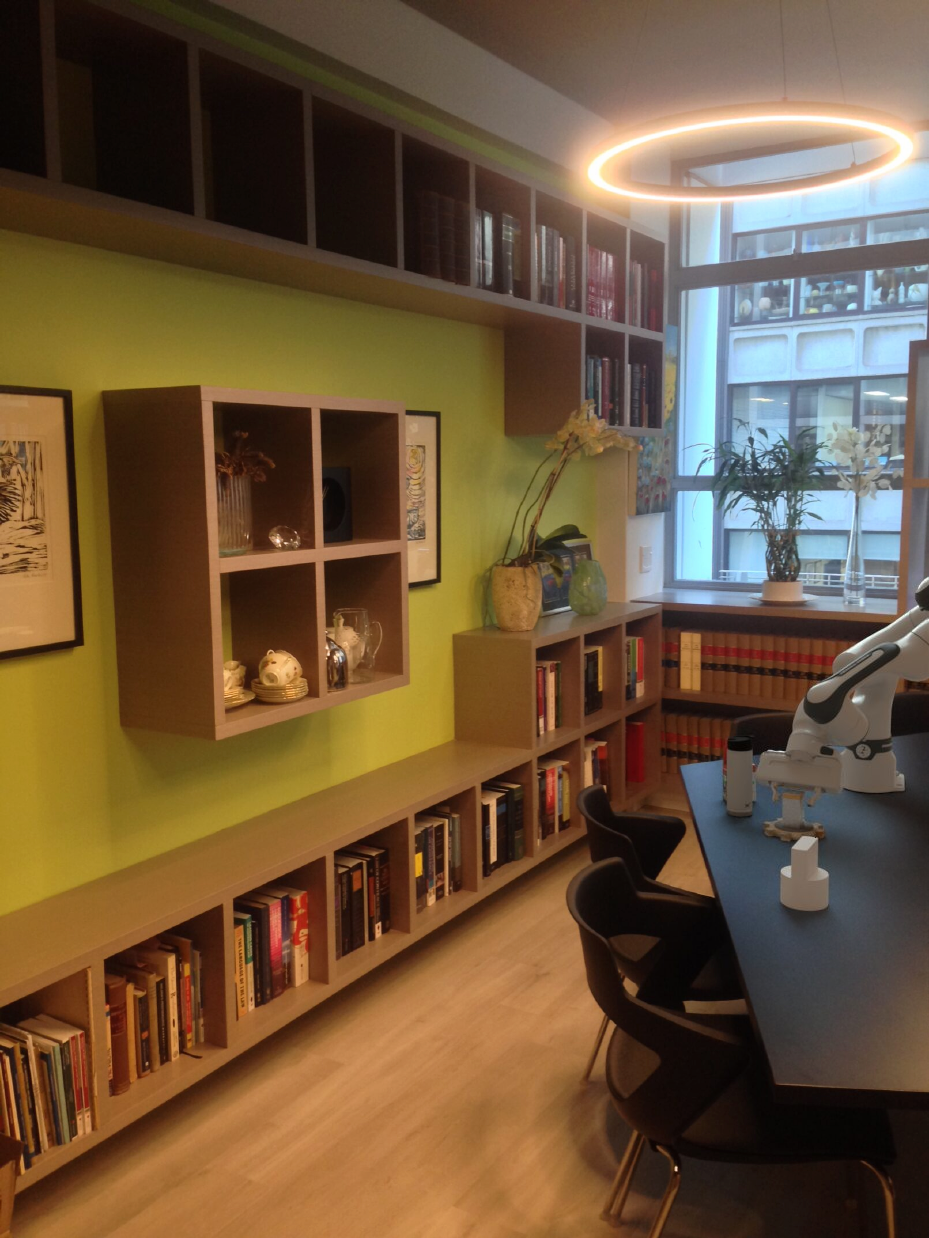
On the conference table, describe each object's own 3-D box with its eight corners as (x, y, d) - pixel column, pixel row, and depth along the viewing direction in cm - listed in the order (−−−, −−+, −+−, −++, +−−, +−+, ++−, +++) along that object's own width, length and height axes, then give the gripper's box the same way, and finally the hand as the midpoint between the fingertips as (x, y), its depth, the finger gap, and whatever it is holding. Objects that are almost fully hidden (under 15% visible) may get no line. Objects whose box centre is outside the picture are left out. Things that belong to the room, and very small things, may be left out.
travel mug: (754, 817, 263) (755, 738, 261) (727, 816, 265) (727, 738, 262) (753, 810, 269) (753, 733, 267) (726, 809, 271) (726, 732, 269)
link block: (787, 821, 254) (787, 789, 253) (804, 824, 251) (804, 791, 250) (782, 826, 250) (782, 793, 249) (799, 828, 248) (799, 795, 247)
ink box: (756, 801, 277) (756, 746, 275) (727, 803, 276) (727, 748, 274) (750, 797, 281) (751, 743, 279) (722, 799, 280) (722, 745, 278)
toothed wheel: (773, 820, 260) (773, 813, 260) (831, 828, 253) (831, 821, 253) (755, 836, 249) (755, 828, 249) (815, 845, 241) (816, 837, 241)
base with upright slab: (822, 914, 202) (822, 853, 201) (774, 905, 207) (775, 846, 206) (833, 898, 210) (834, 839, 208) (787, 890, 215) (787, 833, 213)
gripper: (759, 742, 260) (746, 790, 253) (845, 751, 249) (834, 802, 242) (765, 756, 264) (752, 804, 257) (849, 765, 253) (839, 816, 246)
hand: (792, 803), depth 249 cm, fingers open, 7 cm apart
